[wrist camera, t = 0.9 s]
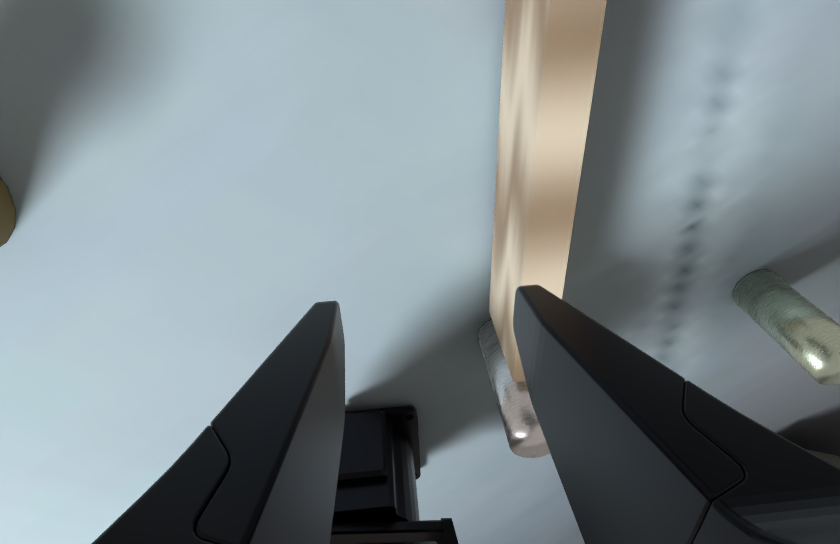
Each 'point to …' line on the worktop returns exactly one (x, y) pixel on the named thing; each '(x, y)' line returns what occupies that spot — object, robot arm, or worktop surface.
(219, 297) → the worktop surface
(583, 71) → the light brown wooden plank
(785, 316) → the gate posts
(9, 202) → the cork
